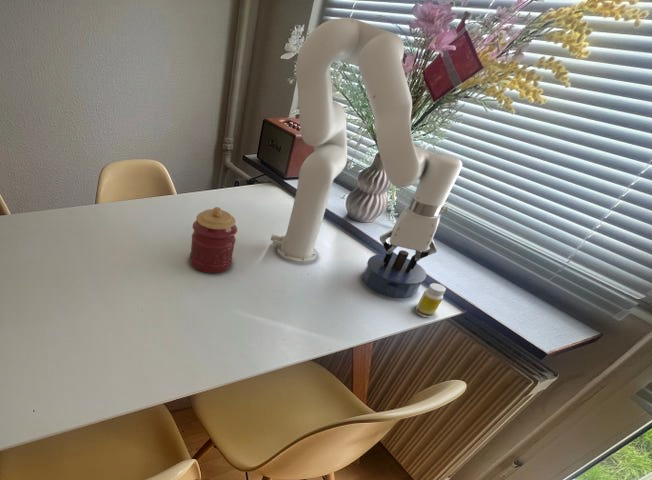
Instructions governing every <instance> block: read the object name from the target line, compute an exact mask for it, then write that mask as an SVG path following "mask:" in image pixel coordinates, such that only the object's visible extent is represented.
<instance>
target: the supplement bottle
mask: <svg viewBox="0 0 652 480" xmlns="http://www.w3.org/2000/svg"><path fill="white" fill-rule="evenodd" d="M446 290H447V288H446V286H444V285H443V284H440V283H437V282H432V283H430V284H429V286H428V287H427V289H425V290H424V292H423V293H422V296H421V297H420V299H419V300H418V303H417V304H416V306H415V311H416V313H417V314H418V316H421V317H423V318H431V317H433V316H434V314H435V312H436V311H437V310H438V307H439V306H440V304H441V302H442V301H443V298H444V294H445V293H446Z"/></svg>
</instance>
